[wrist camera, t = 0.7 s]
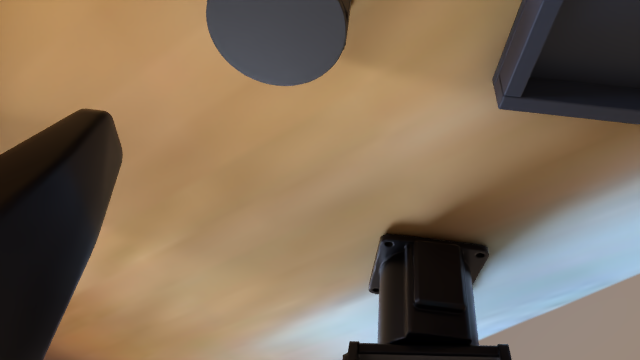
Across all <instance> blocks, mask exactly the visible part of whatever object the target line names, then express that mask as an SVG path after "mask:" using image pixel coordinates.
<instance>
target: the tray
mask: <svg viewBox="0 0 640 360" xmlns="http://www.w3.org/2000/svg"><path fill="white" fill-rule="evenodd" d="M492 81H493V86H494V89H495V94H496V99H497V104H498V108H499V109H504V110H513V111H522V112H531V113H540V114H549V115H559V116H568V117H577V118H586V119H595V120H604V121H613V122H622V123H631V124H640V0H522V3H521V5H520V8H519V10H518V13H517V16H516V18H515V21H514V24H513V26H512V29H511V32H510V34H509V37H508V39H507V42H506V45H505V47H504V50H503V53H502V55H501V58H500V60H499V63H498V66H497V68H496V71H495V74H494V76H493V79H492Z"/></svg>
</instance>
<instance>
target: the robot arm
mask: <svg viewBox="0 0 640 360" xmlns="http://www.w3.org/2000/svg"><path fill="white" fill-rule="evenodd" d="M122 155H123V154H122V147H121V144H120V140H119V137H118V134H117V131H116V127H115V124H114V121H113V118H112V116H111V115H110V114H109V113H108V112H106V111H100V110H93V109H80V110H78V111H76V112H74V113H73V114H71V115H69V116H67V117H66V118H64V119H62V120H60V121H59V122H57V123H55V124H53V125H52V126H50V127H48V128H46V129H45V130H43V131H41V132H39V133H38V134H36V135H34V136H32V137H31V138H29V139H27V140H25V141H24V142H22V143H20V144H18V145H17V146H15V147H13V148H11V149H10V150H8V151H6V152H4V153H3V154H1V155H0V360H43V359H44V357H45V354H46V352H47V350H48V348H49V346H50V343H51V341H52V339H53V337H54V335H55V332H56V330H57V328H58V326H59V324H60V321H61V319H62V317H63V315H64V313H65V310H66V308H67V306H68V304H69V302H70V300H71V297H72V295H73V293H74V291H75V289H76V286H77V284H78V282H79V280H80V278H81V275H82V273H83V271H84V269H85V267H86V264H87V262H88V260H89V258H90V256H91V253H92V251H93V249H94V246H95V244H96V241H97V238H98V235H99V232H100V230H101V226H102V223H103V220H104V217H105V214H106V211H107V207H108V204H109V201H110V198H111V195H112V192H113V189H114V185H115V182H116V179H117V176H118V173H119V170H120V166H121V163H122ZM488 256H489V253H488V248H487V247H486V246H483V245H477V244H468V243H460V242H452V241H443V240H435V239H427V238H418V237H410V236H402V235H393V234H385V235H383V236H381V238H380V242H379V246H378V250H377V254H376V258H375V262H374V266H373V270H372V274H371V278H370V283H369V291H370V292H371V293H374V294H379V319H378V344H375V343H359V342H355V341H350V343H349V349H348V353H346V354H344V355H343V360H511V355H510V351H509V346H508V344H498V345H497V346H479V343H478V334H477V324H476V315H475V306H474V297H473V288H472V285H473V283H474V282H475V280H476V278H477V276H478V274H479V273H480V271H481V269H482V267H483V265H484V263H485V262H486V260H487V258H488Z"/></svg>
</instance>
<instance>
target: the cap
mask: <svg viewBox="0 0 640 360" xmlns="http://www.w3.org/2000/svg"><path fill="white" fill-rule="evenodd" d="M350 7H351V0H207V9H206V18H207V25H208V30H209V33H210V36H211V38H212V40H213V42H214V44H215V46H216V48H217V49H218V51H219V52H220V54H221V55H222V56H223V57H224V58H225V60H226V61H227V62H228V63H229V64H231V65H232V66H233V67H234V68H235V69H237V70H238V71H240V72H241V73H243V74H244V75H246V76H248V77H250V78H252V79H254V80H257V81H259V82H263V83H266V84H271V85H277V86H293V85H299V84H304V83H307V82H310V81H312V80H315V79H317V78H318V77H320V76H322V75H323V74H325V73H326V72H327V71H328V70H329V69H330V68H331V67H332V66H333V65H334V64H335V63H336V61H337V60H338V59H339V57H340V55H341V53H342V51H343V50H344V46H345V45H346V38H347V30H348V23H349V15H350Z"/></svg>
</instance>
